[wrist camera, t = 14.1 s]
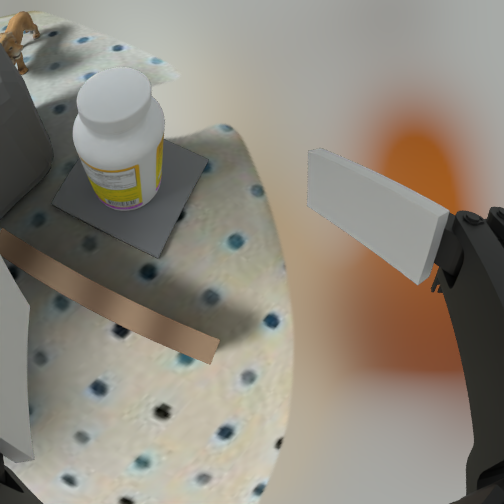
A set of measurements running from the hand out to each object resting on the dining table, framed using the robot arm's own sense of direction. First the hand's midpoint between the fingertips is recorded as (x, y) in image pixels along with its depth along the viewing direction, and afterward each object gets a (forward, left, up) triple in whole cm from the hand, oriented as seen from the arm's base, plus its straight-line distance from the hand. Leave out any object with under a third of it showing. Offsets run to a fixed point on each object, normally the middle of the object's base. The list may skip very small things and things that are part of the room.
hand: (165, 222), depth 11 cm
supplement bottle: (-7, +7, -16) cm, 19 cm away
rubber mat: (-7, +7, -17) cm, 19 cm away
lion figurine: (-32, +16, -17) cm, 40 cm away
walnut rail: (-4, -4, -17) cm, 18 cm away
